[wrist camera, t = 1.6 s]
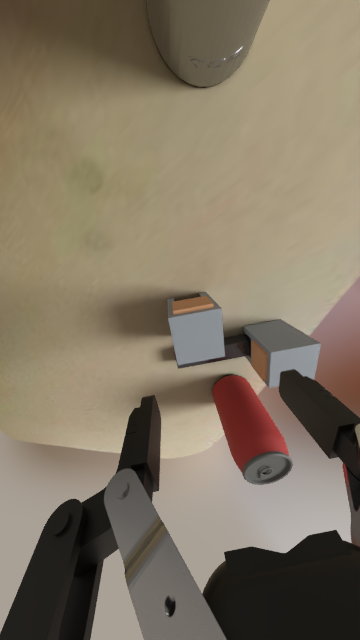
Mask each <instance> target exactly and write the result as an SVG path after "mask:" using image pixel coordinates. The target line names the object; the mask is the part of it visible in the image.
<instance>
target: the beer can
mask: <svg viewBox="0 0 360 640" xmlns="http://www.w3.org/2000/svg"><path fill="white" fill-rule="evenodd" d="M212 395H213V398H214V402H215V405H216V408H217V411H218V414H219V417H220V420H221V423H222V426H223V430H224V433H225V436H226V439H227V441H228V445H229V448H230V451H231V454H232V456H233V458H234V461H235V462H236V464H237V466H238V467H239V469H240V470H241V472H242V473H243V476H244V479H245V480H247V481H248V482H249V483H252V484H258V485H263V484H269V483H273V482H276V481H278V480H280V479H282V478H283V477H285V476H286V475H287V474H288V473H289V472H290V471H291V468H292V466H293V463H292V459H291V458H290V457H289V454H288V450H287V446H286V443H285V441H284V438H283V436H282V435H281V433H280V432H279V430H278V428H277V427H276V425H275V423H274V422H273V420H272V419H271V417H270V416H269V414H268V412H267V411H266V409H265V408H264V406H263V405H262V403H261V401H260V400H259V398H258V396H257V395H256V393H255V392H254V390H253V389H252V387H251V385H250V384H249V382H248V381H247V380H246V379H245V378H243V377H241V376H237V375H230V376H226V377H223V378H222V379H220V380H219V381H218V382H217V383H216V384H215V385H214V388H213V392H212Z"/></svg>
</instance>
